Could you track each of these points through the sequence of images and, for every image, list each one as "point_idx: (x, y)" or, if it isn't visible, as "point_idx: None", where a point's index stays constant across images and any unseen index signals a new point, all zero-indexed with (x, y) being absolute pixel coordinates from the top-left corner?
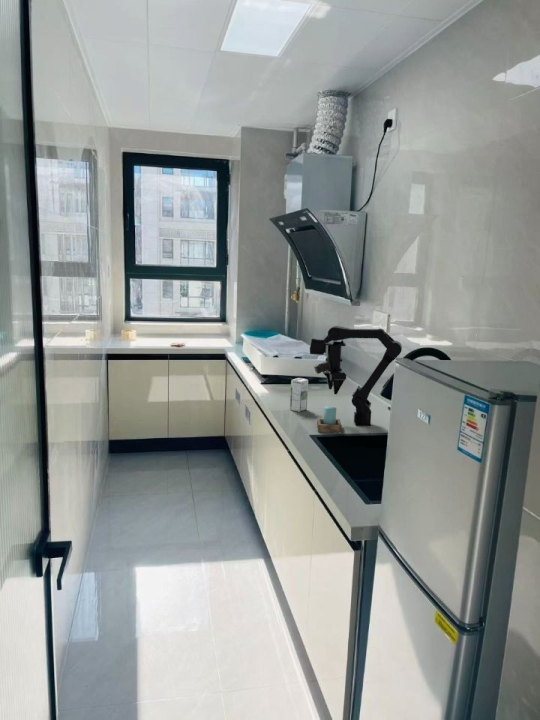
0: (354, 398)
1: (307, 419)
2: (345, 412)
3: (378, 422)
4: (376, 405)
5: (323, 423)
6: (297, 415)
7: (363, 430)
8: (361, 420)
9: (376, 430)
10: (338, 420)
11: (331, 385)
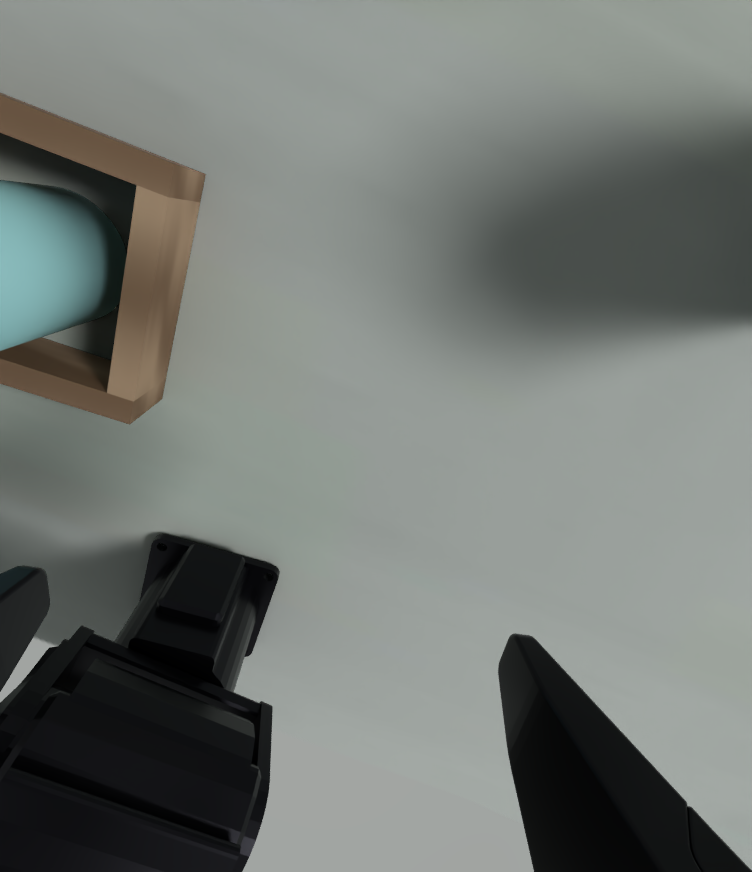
0: (10, 754)
1: (460, 160)
2: (550, 607)
3: None
4: None
5: (11, 181)
6: (664, 96)
7: (30, 530)
8: (142, 597)
9: None
10: (78, 392)
11: (523, 751)
